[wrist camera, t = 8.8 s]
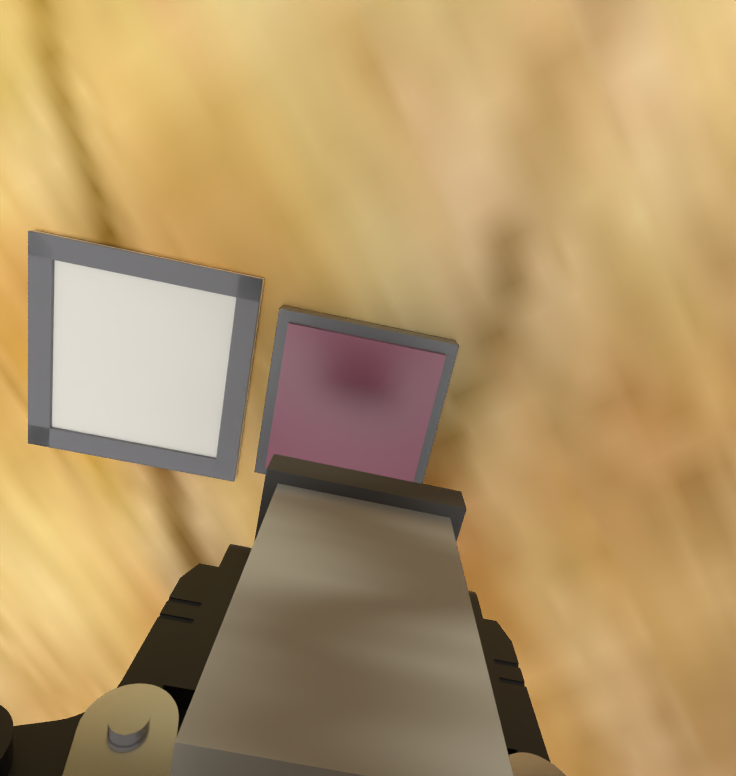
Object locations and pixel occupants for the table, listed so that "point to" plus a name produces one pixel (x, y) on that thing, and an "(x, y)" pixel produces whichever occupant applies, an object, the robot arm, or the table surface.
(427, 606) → the stamp
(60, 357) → the marked box
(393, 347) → the ink pad
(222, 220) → the table surface
